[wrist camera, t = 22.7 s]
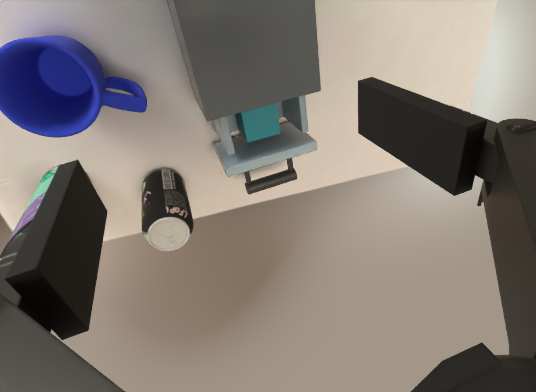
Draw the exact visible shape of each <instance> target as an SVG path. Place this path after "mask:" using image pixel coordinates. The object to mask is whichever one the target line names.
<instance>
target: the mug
mask: <svg viewBox="0 0 536 392" xmlns="http://www.w3.org/2000/svg"><path fill="white" fill-rule="evenodd" d="M105 88H113V89H118V90H123V91H126V92H129V93H131V94H133V95H134V96H132V95H126V94H121V93H115V92H110V91H107V90H106V89H105ZM103 105H106V106H109V107H112V108H116V109H121V110H127V111H133V112H145V110H146V107H147V99H146V96H145V93H144V91H143V89H142V88H141V87H140V86H139V85H138V84H137V83H135V82H133V81H130V80H127V79H123V78H118V77H106V78H104V75H103V72H102V69H101V67H100V64H99V62H98V60H97V59H96V57H95V56H94V54H93V53H92V52H91V51H90V50H89V49H88V48H87V47H85V46H84V45H83V44H81V43H80V42H78V41H76V40H74V39H71V38H68V37H63V36H45V37H33V38H23V39H18V40H14V41H12V42H9V43H7V44H5V45H4V46H2V47H1V48H0V110H1V112H2V113H3V114H4V115H5V116H6V117H7V118H8V119H10V120H11V121H12V122H13V123H15V124H16V125H18V126H20V127H21V128H23V129H25V130H27V131H29V132H32V133H35V134H38V135H42V136H47V137H67V136H71V135H75V134H78V133H80V132H82V131H84V130H85V129H87V128H88V127H89V126H90V125H91V124H92V123H93V122H94V121H95V119H96V118H97V116H98V114H99V112H100V109H101V107H102V106H103Z"/></svg>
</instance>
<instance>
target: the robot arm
mask: <svg viewBox="0 0 536 392" xmlns="http://www.w3.org/2000/svg"><path fill="white" fill-rule="evenodd" d="M358 133H359V134H361V135H362V136H364V137H365V138H367V139H368V140H370V141H371V142H373V143H374V144H376V145H377V146H379V147H380V148H382V149H384V150H385V151H387V152H388V153H390V154H391V155H393V156H394V157H396V158H397V159H399V160H400V161H402V162H403V163H405V164H406V165H408V166H409V167H411V168H412V169H414V170H416V171H417V172H419V173H420V174H422V175H423V176H425V177H426V178H428V179H429V180H431V181H432V182H434V183H435V184H437V185H439V186H440V187H441V188H443V189H445V190H446V191H448V192H449V193H451V194H452V195H454V196H455V195H458V194H461V193H464V192H466V191H469V190H471V189H472V186H473V181H474V177H475V175H476V176H478V177H480V178H482V179H483V180H484V181H483V184H482V188H481V192H480V196H479V200H478V204H477V205H478V206H481V203H482V202H484V207H485V212H486V218H487V224H488V229H489V235H490V240H491V246H492V252H493V257H494V262H495V268H496V274H497V280H498V285H499V291H500V296H501V302H502V307H503V312H504V319H505V324H506V330H507V335H508V341H509V355H494V354H493V353H492V352H491V351H490V350H489V349H488V348H487V347H486V346H485V345H484V344H483V343H480V344H478V345H476V346H474V347H471V348H469V349H467V350H465V351H463V352H461V353H459V354H456V355H454V356H452V357H450V358H448V359H446V360H443V361H442V362H441V363H440V364H439V365H438V366H437V367H436V368H435V369H434V370H433V371H432V372H431V373H430V374H429V375H428V376H427V377H426V378H425V379H424V380H422V381H421V382H420V383H419V384H418V386H416V387H415V388H414V389H413V390H412V391H411V392H536V121H533V120H527V119H507V120H503V121H501V122H499V123H496V122H493V121H491V120H488V119H485V118H483V117H480V116H477V115H474V114H471V113H469V112H466V111H463V110H461V109H458V108H456V107H453V106H448V105H446V104H443V103H440V102H438V101H435V100H432V99H430V98H427V97H424V96H422V95H419V94H416V93H413V92H411V91H408V90H405V89H403V88H400V87H397V86H395V85H392V84H389V83H387V82H384V81H381V80H379V79H376V78H373V77H370V78H367V79H363V80H359V81H358ZM106 217H107V210H106V208H105V206H104V204H103V203H102V201H101V199H100V197H99V196H98V194H97V192H96V190H95V189H94V187H93V185H92V183H91V182H90V180H89V178H88V176H87V175H86V173H85V171H84V169H83V168H82V166H81V164H80V162H79V161H78V160H76V161H72V162H69V163H65V164H61V165H59V166H58V168H57V170H56V172H55V174H54V177H53V179H52V181H51V183H50V185H49V187H48V189H47V191H46V193H45V195H44V197H43V199H42V202H41V204H40V206H39V208H38V210H37V212H36V214H35V216H34V218H33V220H32V222H31V224H30V227H29V229H28V231H27V233H24V234H21V235H18V236H17V237H16V238H15V239H14V240H13V241H12V242H11V243H10V244H9V245H8V246H7V247H6V249H5V251H4V253H3V255H2V257H1V260H0V392H125V391H123V390H122V389H121V388H119V387H118V386H117V385H115V384H114V383H113V382H112V381H111V380H110V379H108V378H107V377H106V376H104V375H103V374H102V373H101V372H99V371H98V370H97V369H96V368H94V367H93V366H92V365H90V364H89V363H88V362H87V361H85V360H84V359H83V358H81V357H80V356H79V355H78V354H77V353H75V352H74V351H73V350H71V349H70V348H69V347H68V346H66V345H65V344H64V343H63V342H61V341H60V340H59V339H57V338H56V337H55V336H54V335H52V334H51V333H50V332H51V329H52V330H53V331H54V332H55V333H56V334H57V335H58V336H59V337H60V338H61V339H62V340H64V339H66V338H69V337H72V336H74V335H77V334H80V333H82V332H85V331H88V330H89V324H90V317H91V311H92V305H93V299H94V292H95V286H96V280H97V273H98V267H99V260H100V255H101V248H102V242H103V236H104V230H105V223H106Z"/></svg>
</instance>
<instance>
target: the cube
mask: <svg viewBox="0 0 536 392" xmlns="http://www.w3.org/2000/svg"><path fill="white" fill-rule="evenodd" d="M235 117H236V121H237V125H238V130H239V132H240V133H241V135H242V136H243V137H244V139H245V140H246V142H247V143H249V142H253V141H256V140H259V139H263V138H266V137H270V136H273V135H277V134H280V133H281V132H280V125H279V118H278V111H277V105H276V103H274V104H270V105H266V106H263V107H259V108H255V109H252V110H248V111H244V112H240V113H237V114H235Z"/></svg>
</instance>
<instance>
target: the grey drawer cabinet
mask: <svg viewBox="0 0 536 392" xmlns="http://www.w3.org/2000/svg"><path fill="white" fill-rule="evenodd" d="M167 3H168V6H169V10H170V13H171V17H172V20H173V23H174V27H175V30H176V34H177V37H178V41H179V44H180V48H181V51H182V54H183V58H184V61H185V65H186V68H187V72H188V75H189V79H190V82H191V86H192V89H193V92H194V96H195V98H196V100H197V102H198V104H199V106H200V108H201V110H202V112H203V114H204V116H205V118H206V120H207V121H211V120H215V119H218V118H222V117H226V116H229V115H233V114H237V113H240V112H244V111H248V110H252V109H255V108H259V107H263V106H266V105H270V104H274V103H277V102H281V101H285V100H288V99H292V98H296V97H299V96H303V95H307V94H310V93H314V92H318V91H321V87H320V73H319V58H318V43H317V29H316V14H315V0H167Z"/></svg>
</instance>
